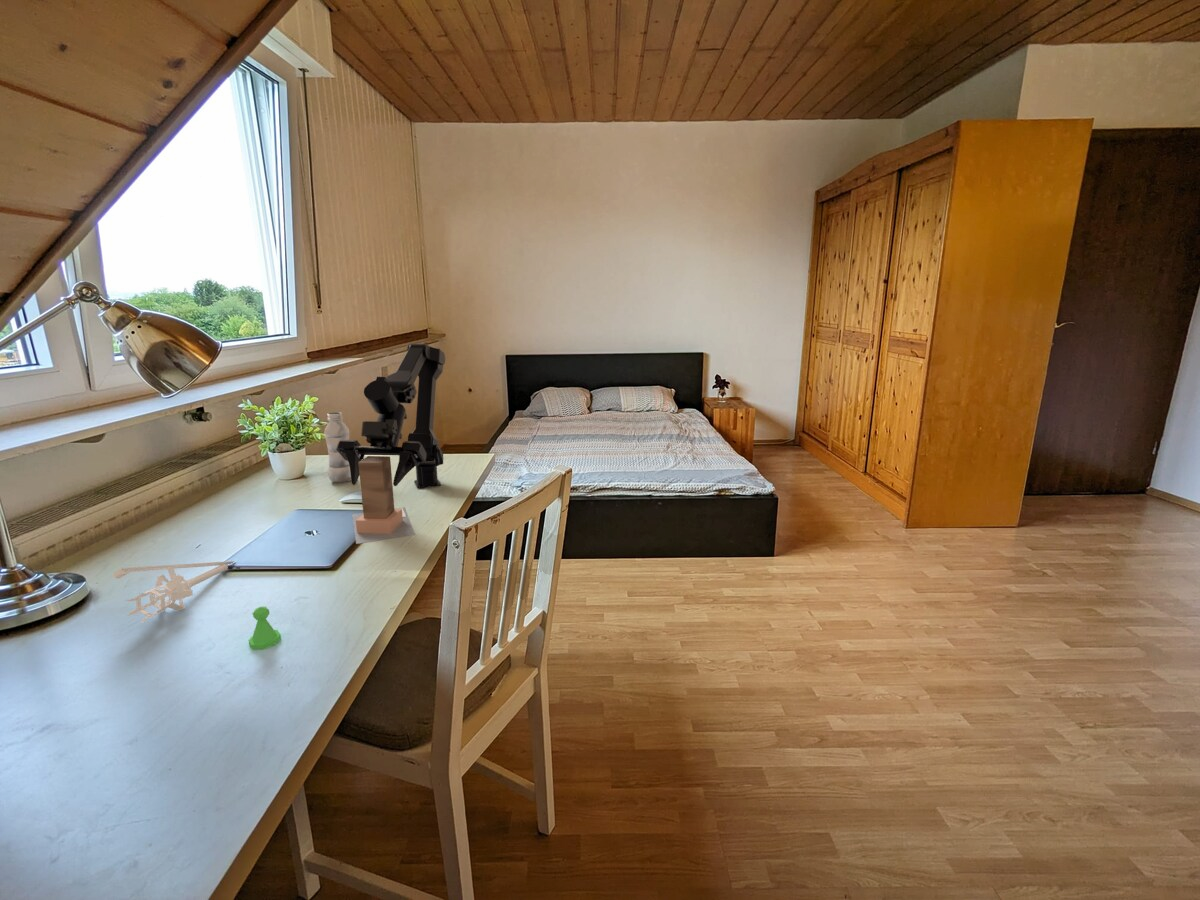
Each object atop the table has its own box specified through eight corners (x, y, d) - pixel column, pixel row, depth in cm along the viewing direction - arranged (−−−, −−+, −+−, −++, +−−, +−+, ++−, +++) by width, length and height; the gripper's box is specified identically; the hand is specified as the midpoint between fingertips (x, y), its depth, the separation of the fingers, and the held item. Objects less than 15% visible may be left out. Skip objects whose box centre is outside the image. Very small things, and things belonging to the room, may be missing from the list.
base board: (352, 518, 134) (352, 513, 133) (404, 511, 139) (404, 506, 138) (356, 548, 118) (356, 542, 118) (415, 538, 123) (415, 533, 123)
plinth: (371, 519, 130) (370, 508, 130) (402, 520, 130) (401, 508, 130) (356, 532, 123) (355, 520, 122) (390, 533, 123) (389, 521, 122)
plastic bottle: (337, 477, 164) (330, 410, 158) (359, 478, 163) (352, 411, 157) (324, 484, 157) (316, 415, 152) (346, 485, 156) (339, 416, 151)
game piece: (252, 636, 87) (246, 602, 86) (283, 631, 89) (278, 597, 87) (246, 652, 83) (240, 616, 82) (278, 646, 85) (273, 611, 83)
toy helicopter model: (238, 610, 109) (117, 632, 85) (221, 569, 111) (98, 579, 86) (265, 595, 109) (153, 611, 85) (249, 554, 111) (133, 559, 86)
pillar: (373, 510, 128) (368, 456, 125) (394, 510, 128) (390, 456, 125) (363, 518, 124) (358, 462, 120) (386, 518, 124) (381, 462, 120)
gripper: (335, 404, 124) (315, 466, 116) (419, 406, 123) (404, 468, 116) (354, 431, 133) (337, 489, 125) (432, 432, 133) (419, 492, 125)
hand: (373, 484), depth 123 cm, fingers open, 9 cm apart
